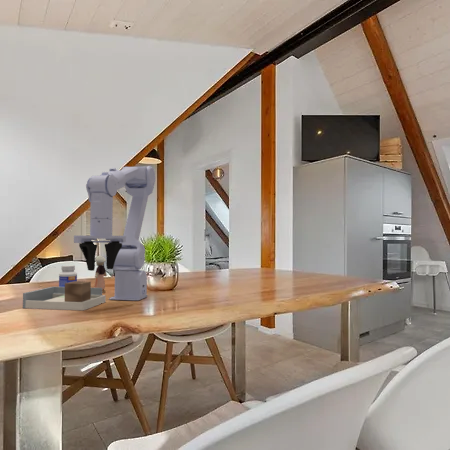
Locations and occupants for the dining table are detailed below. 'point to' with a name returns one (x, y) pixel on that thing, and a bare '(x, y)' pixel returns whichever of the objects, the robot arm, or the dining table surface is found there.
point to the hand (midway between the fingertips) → (100, 269)
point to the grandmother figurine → (100, 273)
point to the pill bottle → (67, 275)
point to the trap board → (60, 299)
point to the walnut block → (77, 291)
